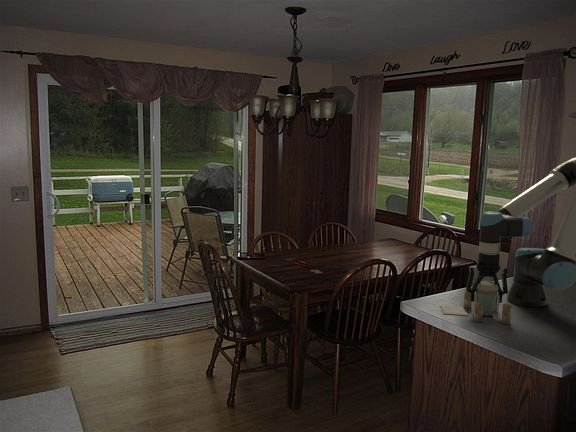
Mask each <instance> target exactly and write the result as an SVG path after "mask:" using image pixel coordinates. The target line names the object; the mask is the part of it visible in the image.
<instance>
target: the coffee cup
mask: <svg viewBox="0 0 576 432" xmlns="http://www.w3.org/2000/svg"><path fill="white" fill-rule="evenodd" d="M498 290H499V289H498V285H497V284H496V285H495V283H494V281H491V280H481V282H480V284H478V286H477V290H476V292H475V293H476V294H477V302H481V303H483V304H484V305H483V316H493V315H494V307H495V302H496V297H497V293H498Z"/></svg>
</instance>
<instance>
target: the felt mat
mask: <svg viewBox="0 0 576 432" xmlns="http://www.w3.org/2000/svg"><path fill="white" fill-rule="evenodd" d="M439 307H440V310H441V311H442V313H443V315H448V314H450V316H451V315H453V316H464V317H465V316H466V317H468V316H469V314H468V313H467V311H466V309H465V307H463V306H450V305H448V306H447V305H439Z"/></svg>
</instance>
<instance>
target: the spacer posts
mask: <svg viewBox="0 0 576 432" xmlns="http://www.w3.org/2000/svg"><path fill="white" fill-rule="evenodd" d="M463 295H464V296H463V306H462V307H463V308H464V309H465V308H466V309H472V306H473V302H471V300H470V295H471V293H470V292H467V290H466V288H465V289H464V292H463ZM483 305H484V304H483V303H481V302H475V309H474V310H473V313H474V314H473V322H474V323H478V324H482V323H483V317H484V315H483ZM501 309H502V310H501V311H502V312H501V322H502V323H501V324H503V325H511V319H512V303H511V304H510V303H503V304H502V308H501ZM494 310H495V307H494Z"/></svg>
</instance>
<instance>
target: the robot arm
mask: <svg viewBox="0 0 576 432" xmlns="http://www.w3.org/2000/svg"><path fill="white" fill-rule="evenodd" d="M573 186H574V188H575V189H576V156H575V157H573V158H570V159H568V160H566V161H564V162H563V163H560V164H559V165H557V166H556V167H554V168H553V169H551V170H550V171H549V173H548V175H547V176H545V177H544V178H543V179H541V180H539V181H538V182H536V183H535V184H533V185H532V186H530V187H529V188H528V189H526V190H525V191H523V192H521V193H520V194H519V195H517V196H515V197H514V198H512V199H511V200H509V201H508V202H507V203H505V204H503V205H502V206H501V207H499V208H498V209H496V210H489V211H483V212H482V213H481V215H480V221H479V241H478V242H479V244H478V251H479V252H478V255H477V264H476V265H474V266H472V265H470V266H468V270H469V273H468V276H467V282H466V287H465V289H466V290H467V292H470V293H471V295H470V300H471V302H472V305H471V309H472V310H473V311H474V309H475V302H477V294H476V290H477V286H478V284H480V282H481V281H483V279H484V278H486V277H488V278H492V280H493V282H494V283H495V285H496V284H497V285H498V289H499V290H498V292H497V297H496V302H495V311H496V313H499V309H500V304H502V303H503V296H504V295H506V296H507V297H506V299H507V301H508V302H510V303H511V304H514V305H519V306H521V307H528V308H542V307H546V306H547V304H548V298H547V294H546V291H545V287H546V288H549V289H553V290H557V291H563V290H565V289H569V288H570V287H572V286H573V284H574V283H575V282H576V192H575V193H574V196H573V198H572V200H571V202H570V203H569V206H568V209H567V211H566V213H565V214H564V217H563V220H562V221H561V224H560V226H559V227H558V230H557V232H556V235H555V236H554V239H553V241H552V243H551V245H550V246H549V247H546V248H537V247H536V248H535V247H520V248H519V247H518V248H517V249H516V251H515V255H514V265H513V266H514V269H513V279H512V283H511V286H510V287H509V289H508V280H507V277H508V276H507V274H508V269H507V268H506V267H501V266H500V259H501V257H500V256H501V255H500V253H501V242H502V241H501V240H502V238H514V237H515V238H522V237H523V238H524V237H528V236H530V235H531V234H532V233H533V230H534V229H533V228H534V224H533V221H532V220H531V219H530V218H529V217H527V216H523V215H525V214H527V213H528V212H530V211H532V210H533V209H534V208H536V207H537V206H539V205H540V204H541V203H544V202H545V201H546V200H548V199H549V198H551V197H553V196H554V195H555V194H557V193H558V192H560V191H561V190H562V191H566V190H567V189H569V188H571V187H573ZM476 271H478V275H477V277H476V279H475V281H474V283H473V280H474V276H475V272H476ZM498 272H500V274H501V275H500V276H501V282H502V283H501V285H502V288H501V285H500V281H499V279H498V277H497V274H498ZM472 284H473V285H472Z"/></svg>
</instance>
